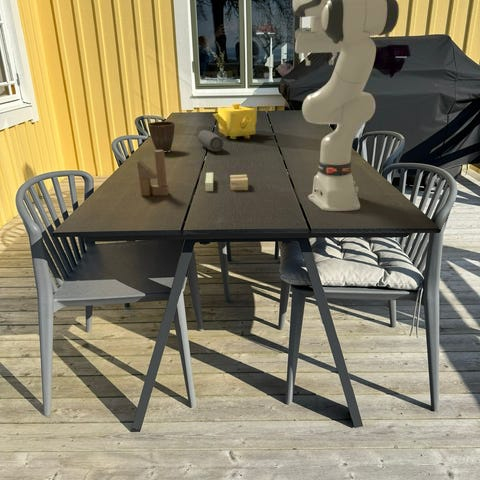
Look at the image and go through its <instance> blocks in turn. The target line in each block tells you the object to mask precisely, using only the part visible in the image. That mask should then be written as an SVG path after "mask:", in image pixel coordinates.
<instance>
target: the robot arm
mask: <svg viewBox="0 0 480 480" xmlns="http://www.w3.org/2000/svg"><path fill="white" fill-rule="evenodd" d="M399 7H400V6H399V3H398V1H397V0H292V10H293V13H294V14H295V15H296V16H298V18H306V17H307V18H308V17H310V22H309V23H310V24H309V27H299V28H297V29H296V30H295V31H294V39H295V45H294V46H295V47H294V53H296V54H303V58H304V61H305V66H311V60H309V58H308V55H309V54H317V53H319V54H320V53H322V54H323V53H331V54H332V57H331V59H329V60H328V65H329V66H332V65H334V63H335V62H334V61H335V59H336V57H337V55H338V53H339V55H338V57H337V60H336V63H335V67H334V69H333V72H332V75H331V77H330V79H329V80H328V82H327V83H326V84H325V85H323V86H322V87H321V88H319V89H318V90H317V91H315V92H313V93H310V94H308V95H307V96H306V97H305V99H304V100H303V103H302V105H301V106H302V107H301V113H302V115H303V118H304V120H305V121H306V122H307V123H310V124H316V125H337V127H336V128H335V129H334V130H333V131H332V132H331V133H328V134H327V135H325V136H324V137H323V138H322V140H321V142H320V154H319V156H320V157H319V161H318V165H317V168H318V170H317V174H316V175H314V177H313V183H312V185H313V186H312V193H310V194H308V197H307V199H308V200H310V201H311V202H312V203H314V204H315V205H316V206H317V207H318V208H320V209H321V210H322V211H328V212H348V211H356V210H359V209H361V203H360V201H359V197H358V193H359V186H355V185H356V180H354V178H353V174H352V162H351V158H352V157H351V155H352V148H353V142H354V139H355V137H356V135H357V133H358V131H359V130H360V129H361V127H362V126H363V125H365V123H367V122H368V121H369V120H371V118H372V117H373V116H374V114H375V111H376V101H375V98H374V96H373V95H372V94H371V93H369V92H365V91H364V89H365V87H366V85H367V82H368V80H369V78H370V75H371V73H372V71H373V66H374V63H375V60H376V55H377V54H376V53H377V46H376V44H375V41H374V40H373V39H372V38H371V37H372V36H378V37H379V36H385V35H388V34H390V33H392V32H393V31H394V29H395V27H396V26H397V24H398V21H399V15H400V8H399Z"/></svg>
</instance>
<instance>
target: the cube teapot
mask: <svg viewBox="0 0 480 480" xmlns="http://www.w3.org/2000/svg"><path fill="white" fill-rule="evenodd" d="M257 112H258V110H257V109H255V108H252V107H247V106H243V105H240V103H232V106H228V107H226V106H225V107H218V108H217V112H216V113H213V114H212V115H213V117H214V118H215V119H216V121H217V122H218V132H219V133H220V134H222V135H225V136H230V137H229V139H230V138H231V139H236V140H237V137H243V138H244V137H245V138H244V139H250V138H249V137H251V135H252V136H253V135H256V124H257V122H258V121H257V119H258V118H257V116H258V113H257Z"/></svg>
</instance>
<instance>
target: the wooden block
mask: <svg viewBox="0 0 480 480" xmlns="http://www.w3.org/2000/svg"><path fill="white" fill-rule="evenodd" d="M154 158H155V169H156V172H155V171H153V170H152V168H150V167H149V166H148V165H147V164H146V163H144V161H142V160H141V159H138V160H137V170H138V171H137V172H138V179H139V187H140V195H141V196H143V197H145V196H146V197H149V196H151V195H152V196H163V197H164V196H166V197H167V196H168V195H169V192H170V188H169V185H168V181H167V171H166V161H165V159H166V158H165V153H164V151H163V150H156V149H155V150H154ZM154 179H156V180H157V184H151V183H152V182H151V180H154Z"/></svg>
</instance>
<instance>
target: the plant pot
mask: <svg viewBox="0 0 480 480" xmlns="http://www.w3.org/2000/svg"><path fill="white" fill-rule="evenodd" d="M147 126H148V132H149V136H150V138H151V141H152V143H153V146H154V148H155V151H156V150H163V151H169V150H170V151H172V146H173V141H174V137H175V136H174V135H175V129H176V128H175V122H174V121H153V122H149V123H147Z"/></svg>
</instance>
